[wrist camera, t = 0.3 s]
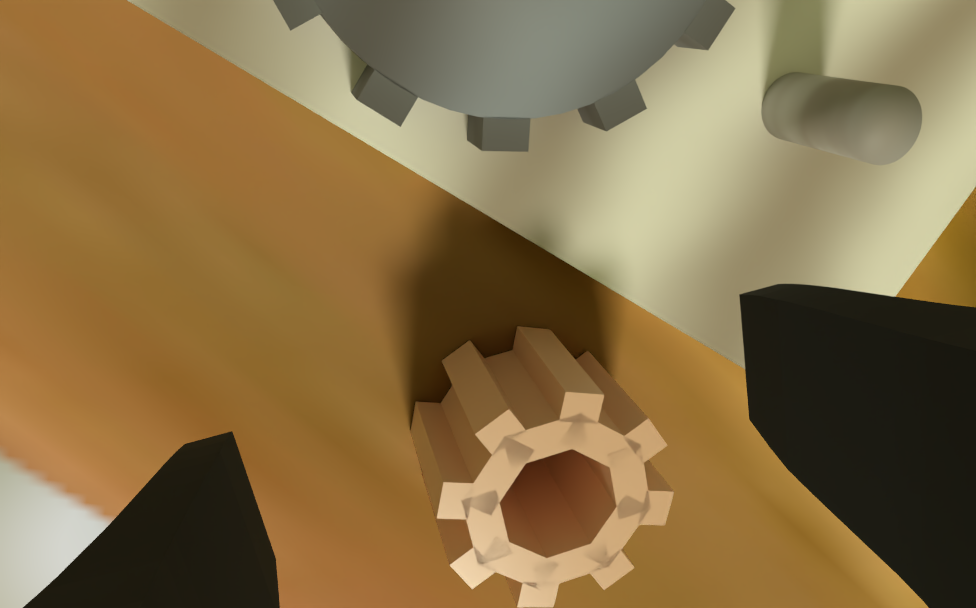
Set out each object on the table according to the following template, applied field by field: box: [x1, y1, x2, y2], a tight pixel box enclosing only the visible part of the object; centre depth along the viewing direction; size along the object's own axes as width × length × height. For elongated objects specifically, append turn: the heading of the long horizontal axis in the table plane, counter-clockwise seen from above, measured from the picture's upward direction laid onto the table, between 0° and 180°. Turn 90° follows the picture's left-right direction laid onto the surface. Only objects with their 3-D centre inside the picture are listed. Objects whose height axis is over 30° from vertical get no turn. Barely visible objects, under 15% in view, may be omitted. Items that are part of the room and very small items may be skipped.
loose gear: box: [410, 326, 674, 607], centre depth 21 cm, size 5×5×4 cm
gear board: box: [127, 0, 976, 369], centre depth 18 cm, size 20×12×4 cm, turn 57°
